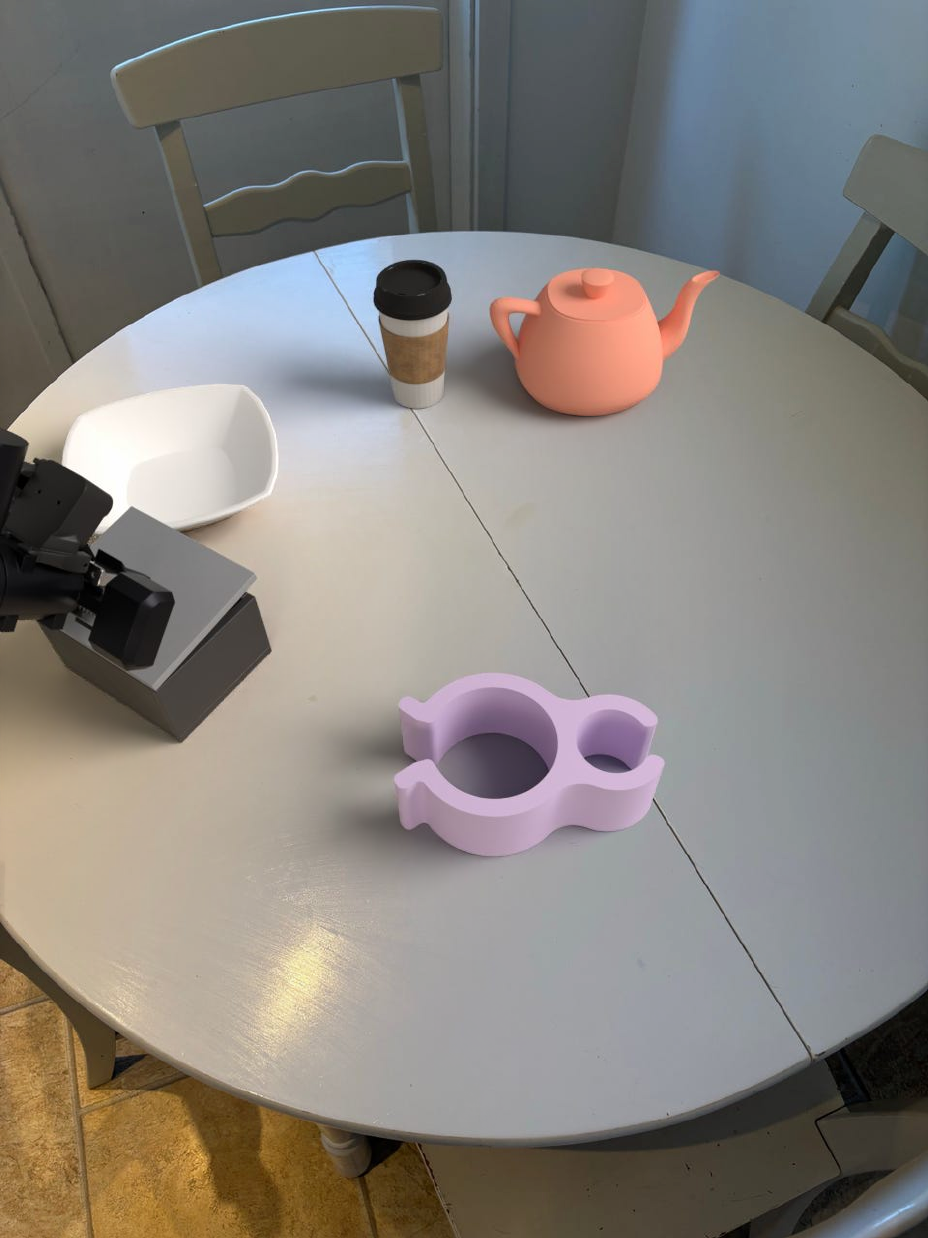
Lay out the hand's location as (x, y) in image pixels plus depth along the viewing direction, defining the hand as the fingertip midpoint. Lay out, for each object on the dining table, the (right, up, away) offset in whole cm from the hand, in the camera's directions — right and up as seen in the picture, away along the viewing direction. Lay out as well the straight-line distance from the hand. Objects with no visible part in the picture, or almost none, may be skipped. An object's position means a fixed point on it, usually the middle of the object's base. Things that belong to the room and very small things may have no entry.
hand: (146, 581), depth 74 cm
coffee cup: (+21, +23, +31) cm, 44 cm away
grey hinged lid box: (0, -7, +7) cm, 10 cm away
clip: (+31, -17, -1) cm, 36 cm away
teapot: (+42, +25, +32) cm, 59 cm away
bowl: (-4, +10, +21) cm, 24 cm away
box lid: (0, -1, +1) cm, 1 cm away
